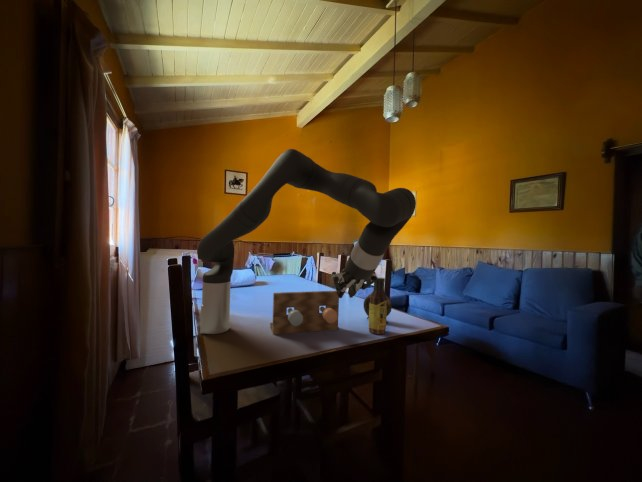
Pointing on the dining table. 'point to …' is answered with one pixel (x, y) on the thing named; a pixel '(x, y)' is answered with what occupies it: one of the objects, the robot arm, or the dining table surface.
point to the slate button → (295, 317)
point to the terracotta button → (329, 314)
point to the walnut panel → (303, 311)
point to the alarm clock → (367, 303)
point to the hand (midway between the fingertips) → (344, 295)
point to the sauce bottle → (378, 308)
